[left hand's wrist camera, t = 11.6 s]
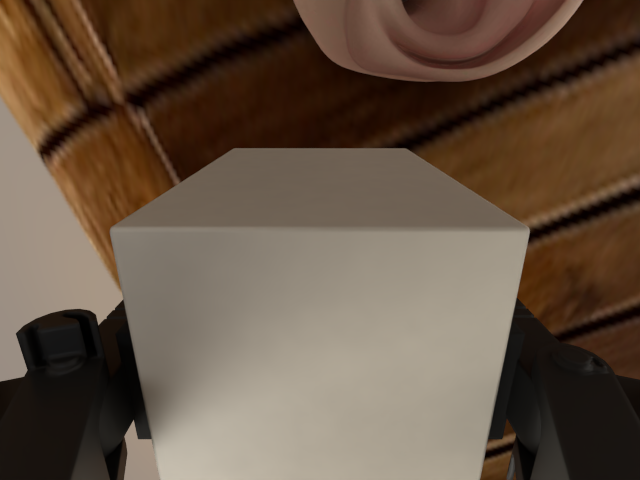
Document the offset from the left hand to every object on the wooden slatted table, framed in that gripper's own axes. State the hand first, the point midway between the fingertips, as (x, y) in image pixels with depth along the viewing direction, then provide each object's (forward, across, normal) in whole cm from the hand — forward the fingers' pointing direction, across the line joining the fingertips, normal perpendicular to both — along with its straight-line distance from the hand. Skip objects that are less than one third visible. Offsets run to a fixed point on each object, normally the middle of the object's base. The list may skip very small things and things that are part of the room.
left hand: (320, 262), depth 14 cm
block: (+2, 0, 0) cm, 2 cm away
